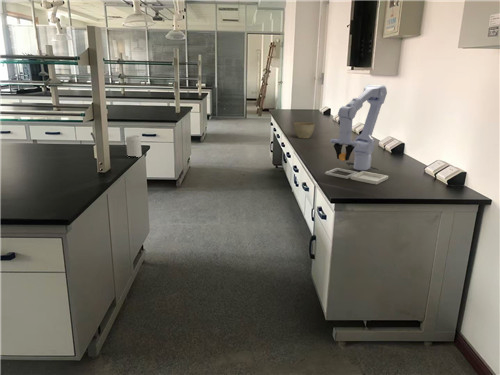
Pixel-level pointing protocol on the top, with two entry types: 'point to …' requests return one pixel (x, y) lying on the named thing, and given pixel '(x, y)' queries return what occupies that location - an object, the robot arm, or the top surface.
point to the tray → (342, 171)
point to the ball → (342, 156)
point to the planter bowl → (304, 129)
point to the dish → (369, 177)
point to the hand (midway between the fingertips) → (342, 159)
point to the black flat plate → (353, 164)
